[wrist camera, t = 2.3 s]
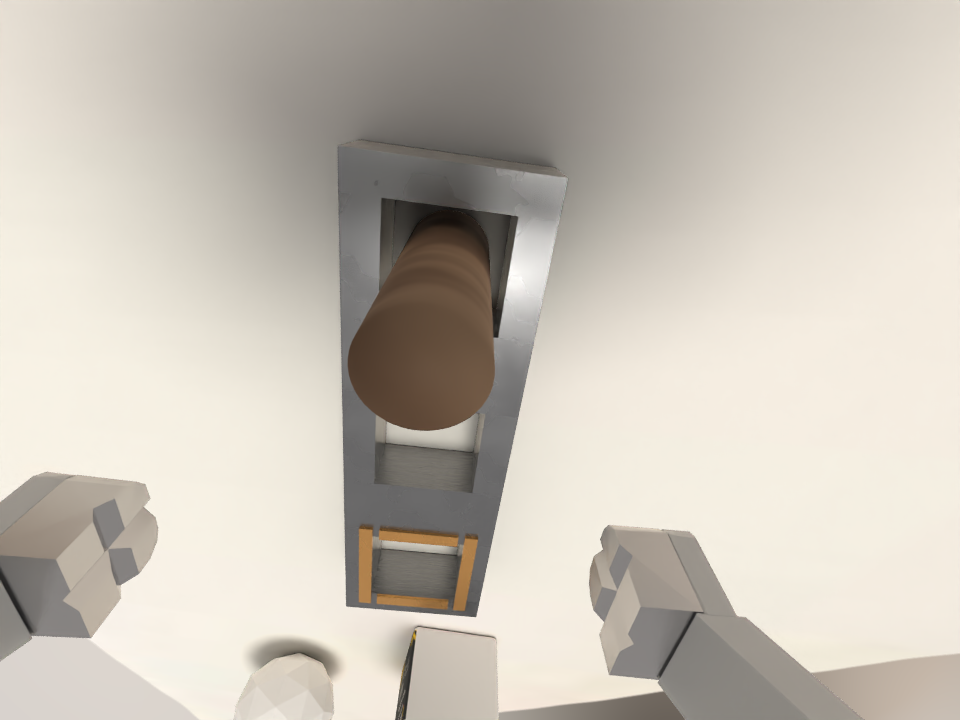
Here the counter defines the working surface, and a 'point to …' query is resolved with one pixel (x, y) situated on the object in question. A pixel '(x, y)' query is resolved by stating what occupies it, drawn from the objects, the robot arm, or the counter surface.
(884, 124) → the counter surface
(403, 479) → the rectangular metal frame
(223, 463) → the counter surface
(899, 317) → the counter surface
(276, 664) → the ball
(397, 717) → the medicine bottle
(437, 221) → the walnut peg
